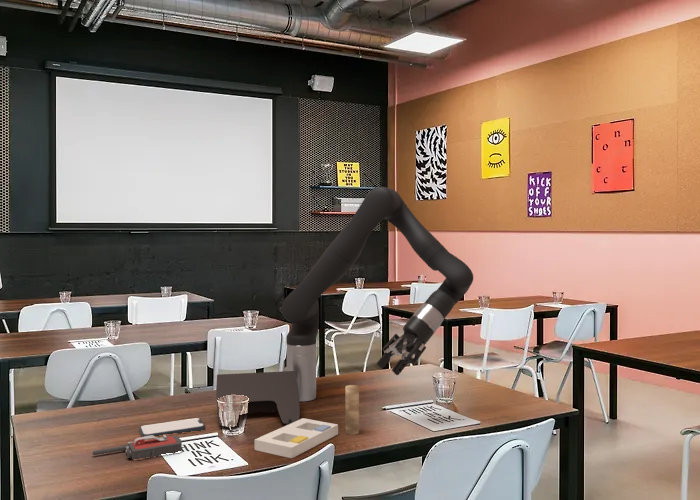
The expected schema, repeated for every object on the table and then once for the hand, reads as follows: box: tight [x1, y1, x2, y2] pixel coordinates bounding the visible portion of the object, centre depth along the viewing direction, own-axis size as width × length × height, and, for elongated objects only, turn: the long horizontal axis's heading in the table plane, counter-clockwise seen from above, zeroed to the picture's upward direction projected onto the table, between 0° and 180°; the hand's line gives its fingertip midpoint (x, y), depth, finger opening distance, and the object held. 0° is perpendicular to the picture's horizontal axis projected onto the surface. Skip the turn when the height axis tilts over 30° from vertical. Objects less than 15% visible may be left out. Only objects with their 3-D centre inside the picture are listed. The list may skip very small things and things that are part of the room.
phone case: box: [138, 417, 206, 437], centre depth 164 cm, size 9×2×16 cm
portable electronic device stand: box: [215, 370, 301, 427], centre depth 175 cm, size 23×23×9 cm
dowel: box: [344, 384, 360, 436], centre depth 161 cm, size 4×4×12 cm
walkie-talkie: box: [92, 435, 183, 459], centre depth 146 cm, size 9×4×20 cm
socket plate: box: [254, 417, 339, 459], centre depth 154 cm, size 20×11×3 cm, turn 149°
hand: (386, 369), depth 165 cm, fingers open, 8 cm apart
